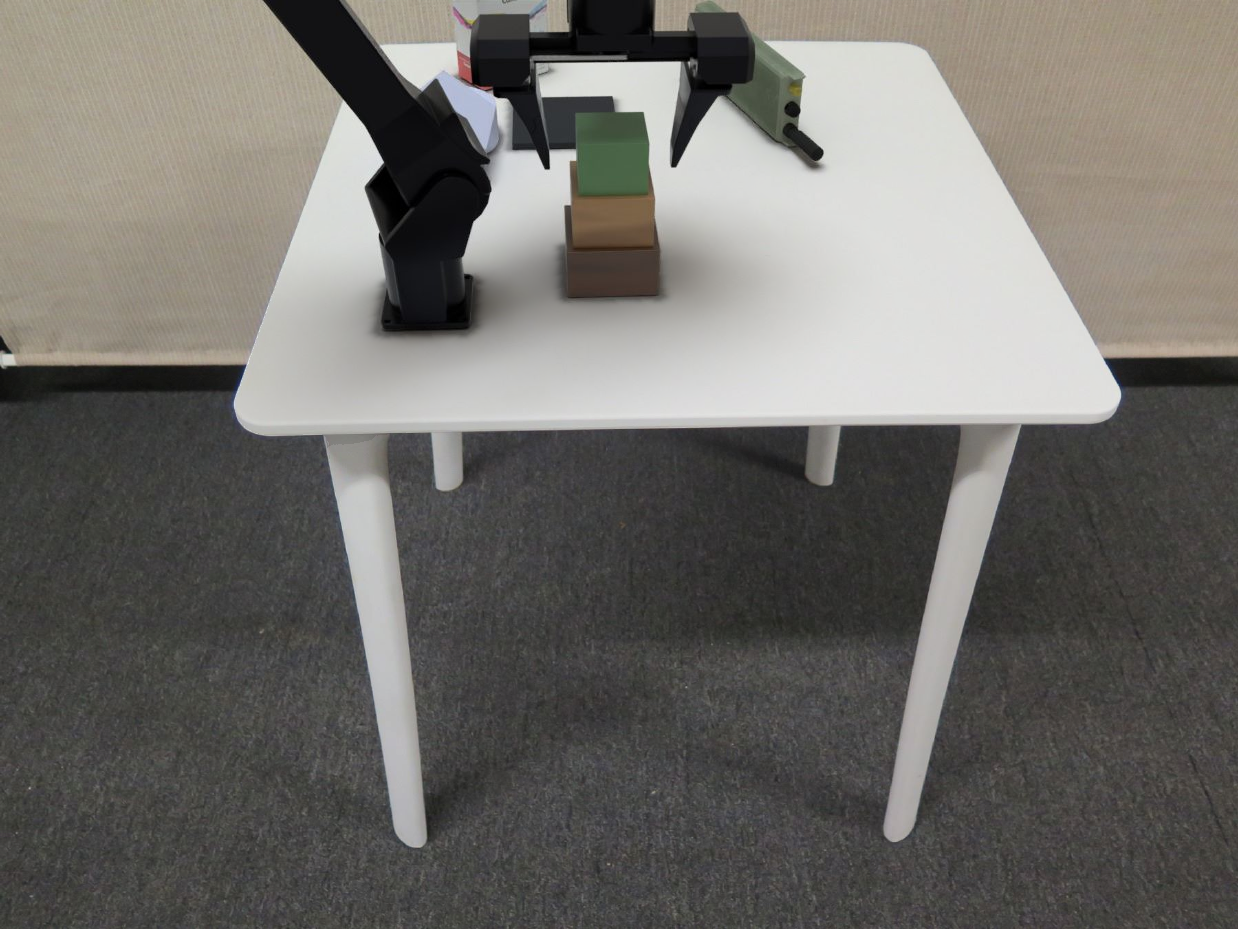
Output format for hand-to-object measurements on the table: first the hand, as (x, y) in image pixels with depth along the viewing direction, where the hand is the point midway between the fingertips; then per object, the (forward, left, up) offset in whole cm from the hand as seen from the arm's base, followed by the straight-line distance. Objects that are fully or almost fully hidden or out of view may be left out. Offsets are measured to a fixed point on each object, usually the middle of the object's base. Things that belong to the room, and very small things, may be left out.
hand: (610, 166), depth 74 cm
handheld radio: (+28, -16, -9) cm, 34 cm away
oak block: (0, 0, -5) cm, 5 cm away
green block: (0, 0, -1) cm, 1 cm away
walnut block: (0, 0, -9) cm, 9 cm away
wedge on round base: (+21, +14, -9) cm, 27 cm away
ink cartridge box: (+38, +9, -9) cm, 40 cm away
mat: (+26, +3, -9) cm, 28 cm away
